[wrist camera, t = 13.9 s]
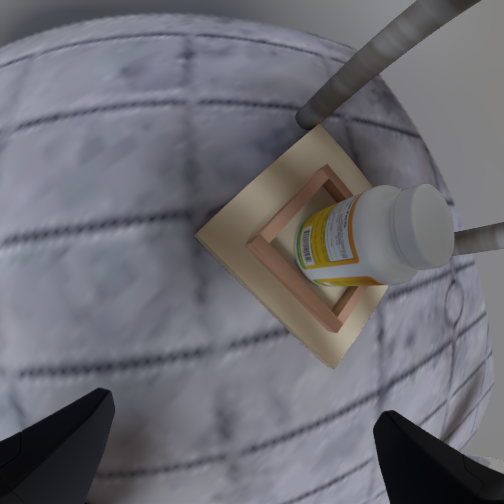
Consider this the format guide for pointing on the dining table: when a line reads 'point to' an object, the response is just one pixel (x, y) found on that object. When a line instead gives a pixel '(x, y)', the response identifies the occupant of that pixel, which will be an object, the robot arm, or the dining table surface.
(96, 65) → the dining table surface
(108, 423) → the robot arm
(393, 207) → the supplement bottle
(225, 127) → the dining table surface
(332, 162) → the wood and grey frame
